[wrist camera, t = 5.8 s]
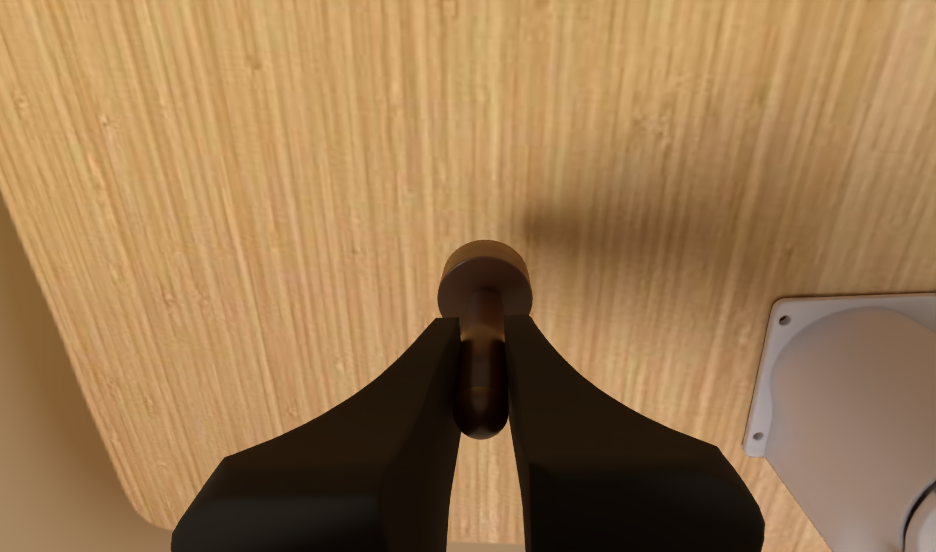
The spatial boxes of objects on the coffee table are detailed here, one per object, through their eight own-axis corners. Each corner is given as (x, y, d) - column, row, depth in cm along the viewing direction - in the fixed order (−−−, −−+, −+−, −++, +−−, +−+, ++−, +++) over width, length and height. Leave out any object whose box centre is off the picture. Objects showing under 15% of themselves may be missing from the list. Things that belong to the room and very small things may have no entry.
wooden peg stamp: (530, 316, 17) (555, 483, 10) (446, 320, 17) (415, 485, 10) (527, 237, 16) (555, 363, 9) (438, 241, 16) (396, 369, 9)
